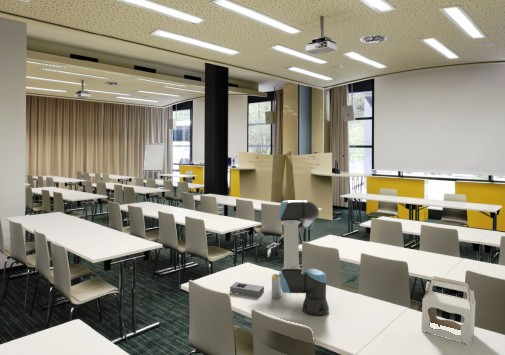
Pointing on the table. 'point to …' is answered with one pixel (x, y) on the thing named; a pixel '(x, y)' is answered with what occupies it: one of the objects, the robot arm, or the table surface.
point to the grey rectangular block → (247, 289)
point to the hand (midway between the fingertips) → (278, 256)
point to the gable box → (449, 309)
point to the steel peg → (276, 286)
